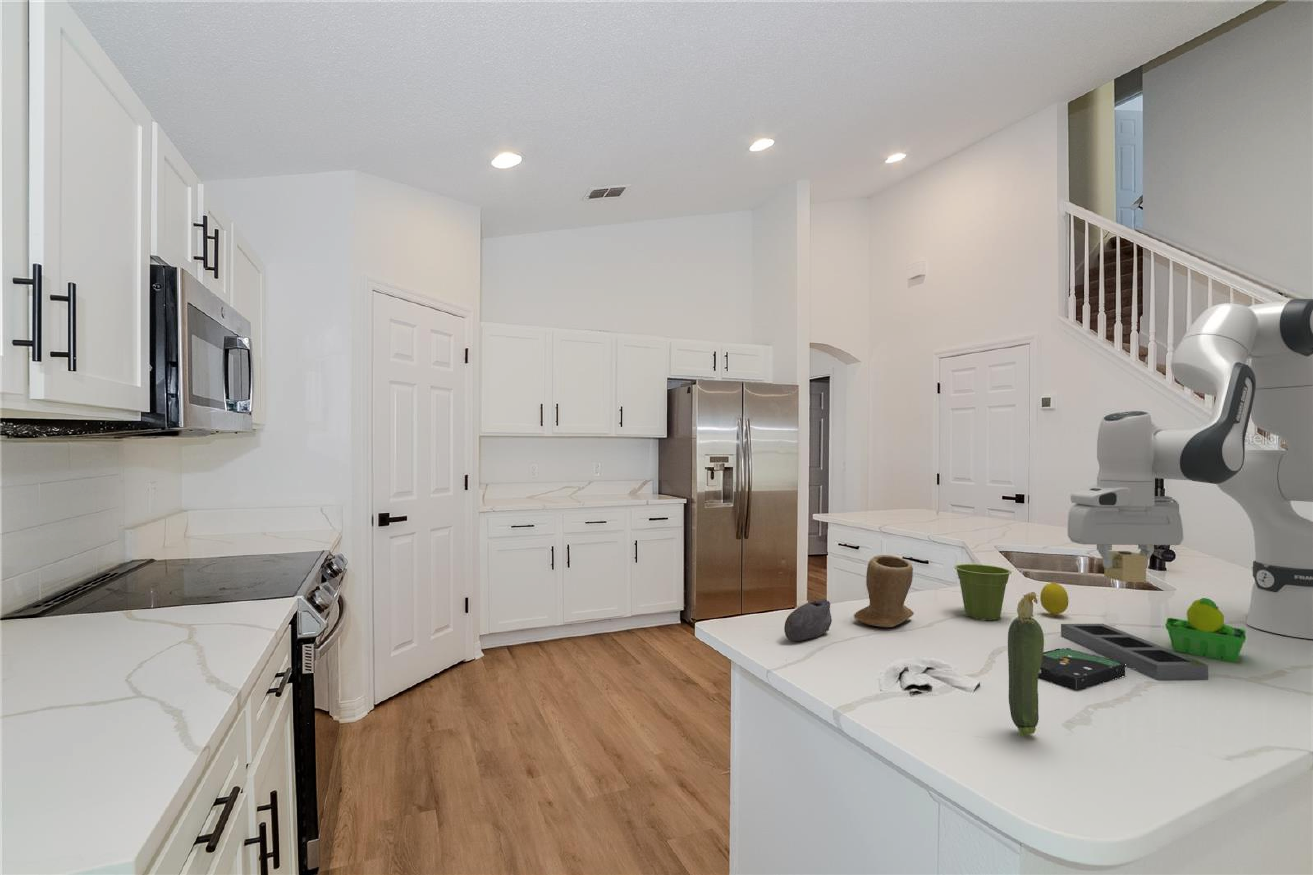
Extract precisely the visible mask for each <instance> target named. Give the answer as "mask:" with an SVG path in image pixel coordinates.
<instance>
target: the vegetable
mask: <svg viewBox="0 0 1313 875" xmlns="http://www.w3.org/2000/svg"><path fill="white" fill-rule="evenodd" d="M1037 597H1038V595H1037V593H1036V592H1034V591H1031V592H1028V593H1026V594H1023V597H1022V598H1021V599H1020V600H1019V602H1018V603H1017V608H1016V612H1017V615H1018V616H1017V617H1016V618H1014V619H1013V620H1012V621H1011V623H1010V625H1009V628H1008V631H1007V659H1008V660H1007V661H1008V706H1009V711H1010V717H1011V720H1012V722H1013V724H1014V725H1015V726H1016V728H1017V730H1018V732H1019V733H1020V735H1021V736H1022V737H1023V738H1024V737H1026V736H1028V735H1032V734H1035V732H1036V730H1037V726H1038V725H1039V716H1040V715H1039V690H1038V688H1039V687H1038V686H1039V678H1038V675H1039V670H1040V667H1041V663H1042V656H1043V652H1044V649H1045V648H1044V646H1045V637H1044V635H1045V634H1044V631H1043V629H1042V625H1041V624H1040V623H1039V622H1038V621H1037V620H1036V619H1035V618H1034V617H1035V616H1034V603H1035V604H1036V605H1037V604H1039V603H1038V600H1039V599H1038V598H1037Z"/></svg>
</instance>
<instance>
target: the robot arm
mask: <svg viewBox="0 0 1313 875" xmlns="http://www.w3.org/2000/svg"><path fill="white" fill-rule="evenodd" d="M1248 359H1250V366H1249V364H1246V363H1247V360H1248ZM1170 370H1171V373H1172V375H1173V376H1174V378H1175V379H1176V381H1178V382H1179V384H1181V385H1182V386H1184V387H1185V388H1187V389H1188V390H1191V391H1193V392H1195V393H1198V394H1202V395H1208V396H1211V397H1212V396H1213V397H1215V400H1214V405H1213V409H1212V412H1211V415H1210V420H1209V422H1208V423H1207V424H1205V425H1202V426H1200V427H1196V428H1187V429H1184V428H1181V429H1165V428H1164V429H1163V428H1162V427H1160V426H1158V425H1156V424H1155V423H1153V421H1152V418H1151V414H1150V413H1149V412H1147V411H1146V412H1145V411H1142V410H1141V411H1140V410H1138V411H1137V410H1134V411H1124V412H1123V411H1122V412H1115V413H1110V414H1108V415H1105V416H1104V417H1102V419H1101V420H1100V423H1099V427H1098V432H1097V439H1096V442H1097V443H1096V459H1097V462H1098V465H1099V466H1098V467H1099V468H1098V473H1097V475H1096V484H1095V485H1091V486H1089V487H1086V488H1083V489H1079V490H1077V491H1074V492H1071V494H1070V501H1071V503H1072V504H1073V505H1072V506H1071V507H1070V508H1069V511H1068V516H1067V537H1068V538H1069V540H1070V541H1071V542H1072V543H1075V544H1079V545H1090V546H1091V545H1095V546H1096V550H1097V552H1098V553H1099V555H1100V556H1101V558H1102V567H1103V568H1104V567H1105V568H1117V559H1113V558H1112V556H1111V554H1110V552H1109V551H1113V545H1115V546H1117V545H1118V546H1120V545H1121V546H1127V545H1128V546H1137V549H1139V550H1140V551H1139V552H1138V553H1139V554H1143V555H1146V569H1148V565H1149V563H1148V562H1149V559H1150V558H1151V556H1152V555H1153V553H1154V552H1155V546H1179V545H1180V544H1181V543H1182V542H1183V541H1184V529H1183V522H1182V521H1183V520H1182V516H1181V514H1180V504H1179V503H1178V501H1177V500H1176V499H1174V498H1173V497H1171V496H1169V495H1165V496H1164V495H1163V496H1159V495H1158V496H1157V495H1155V494H1156V493H1155V492H1156V491H1155V490H1156V489H1155V488H1156V486H1155V484H1156V483H1155V479H1163V480H1178V481H1192V482H1199V483H1206V484H1213V485H1216V486H1217V487H1218V489H1220V490H1221V491H1222V492H1223V493H1224V494H1226V495H1227V496H1229V497H1231V498H1232V499H1233V500H1234V501H1235V502H1237V504H1238V505H1240V506H1241V508H1242V509H1243V510H1244V512H1245V513H1246V515H1247V517H1248V518H1249V521H1250V523H1251V526H1252V529H1253V530H1252V531H1253V538H1254V549H1255V550H1254V551H1255V556H1254V557H1255V559H1254V561H1252V567H1251V570H1252V577H1253V578H1254V583H1253V585H1252V589H1251V596H1250V601H1249V602H1250V603H1249V609H1248V610H1249V611H1248V612H1247V613H1246V616H1245V618H1246V621H1245V624H1246V625H1248V626H1250V627H1252V628H1255V629H1258V630H1262V631H1263V632H1264V631H1265V632H1269V633H1273V634H1278V635H1283V636H1288V637H1293V638H1300V639H1301V638H1302V639H1310V640H1313V520H1310V519H1308V518H1306V517H1304V516H1301V515H1299V514H1298V513H1297V512H1296V511H1295V509H1294V508H1293V506H1292V504H1291V503H1292V502H1291V501H1293V502H1306V503H1307V502H1309V503H1313V298H1294V299H1290V300H1289V301H1287V300H1286V301H1272V302H1265V303H1257V304H1251V305H1250V306H1246V305H1243V304H1239V303H1233V302H1232V303H1231V302H1225V303H1224V302H1223V303H1219V304H1216V305H1212V306H1210V307H1209V308H1207V309H1205V310H1204V311H1203V312H1202V313H1201V314H1200V315H1198V317H1197V318H1196V319H1195V320H1194V322H1193V323H1192V324H1191V325H1190V327H1189V328H1188V329H1187V331H1186V332H1185V334H1184V335H1183V337H1182V339H1181V341H1180V342H1179V343H1178V346H1177V347H1176V349H1175V351H1174V353H1173V355H1172V357H1171V362H1170ZM1250 419H1251V422H1252V423H1253V424H1254V425H1255V426H1256V428H1258V429H1260V430H1262V431H1263V432H1266V433H1268V434H1271V435H1275V436H1277V437H1279V438H1280V439H1281V440H1282V441H1283V442H1284V443H1285V445H1286V447H1287V450H1286V449H1275V450H1274V449H1272V450H1271V449H1249V450H1245V448H1246V442H1245V441H1246V436H1247V432H1248V426H1249V423H1250Z"/></svg>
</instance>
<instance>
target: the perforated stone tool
mask: <svg viewBox="0 0 1313 875" xmlns="http://www.w3.org/2000/svg"><path fill="white" fill-rule="evenodd" d="M830 609H831V602H830V601H828V600H827V599H825V598H822V599H821V598H819V599H817V600H812V601H809V602H806V603H804V604H802V605H801V606H798V607H797V608H795V609H794V610H792V611H791V612H790V614H789V615H788V616H787V617H786V620H785V622H784V629H783V630H784V635H785V637H786V638H787V639H788V640H789V641H790V642H791V641H792V642H802V641H805V640H811V639H814V638H817V637H820V636H822V635H823V634H824V633H826V632H828V631H829V630H830V627H831V626H832V623H833V622H832V621H833V619H832V614H831V610H830Z"/></svg>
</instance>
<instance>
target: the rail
mask: <svg viewBox="0 0 1313 875" xmlns="http://www.w3.org/2000/svg"><path fill="white" fill-rule="evenodd" d="M1060 636H1061V637H1062V638H1065V639H1067V640H1070V641H1071V642H1073V641H1074V642H1073V643H1076V644H1078V645H1080V646H1083V647H1084V646H1085V647H1084V648H1087V649H1089V650H1092V651H1093V650H1094V651H1093V652H1096V653H1098V654H1099V655H1102V656H1104V657H1105V658H1107V659H1110V660H1113V659H1114V661H1115V660H1116V661H1118V662H1121V663H1125V664H1126V665H1127V666H1126V665H1125V666H1126V667H1128V666H1130V667H1131V668H1130V667H1129V668H1130V669H1132V668H1135V669H1136V670H1138V671H1137V672H1139V671H1140V672H1139V673H1141V674H1143V673H1144V675H1145V674H1146V675H1145V676H1147V675H1148V676H1147V677H1149V676H1150V678H1151V679H1154V678H1155V679H1154V680H1156V679H1157V681H1171V680H1172V681H1173V680H1174V681H1177V680H1178V681H1181V680H1186V681H1187V680H1189V681H1190V680H1191V681H1192V680H1193V681H1194V680H1199V681H1200V680H1209V664H1207V663H1204V662H1202V661H1199V660H1197V659H1194V658H1192V657H1189V656H1188V655H1187V656H1186V655H1184V654H1182V653H1180V652H1177V651H1174V650H1173V649H1169V648H1166V647H1163V646H1161V645H1158V644H1157V643H1153V642H1151V641H1148V640H1145V639H1143V638H1141V637H1138V636H1135V635H1133V634H1130V633H1128V632H1126V631H1123V630H1120V629H1118V628H1116V627H1112V626H1110V625H1108V624H1105V623H1060ZM1136 670H1135V671H1136Z"/></svg>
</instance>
